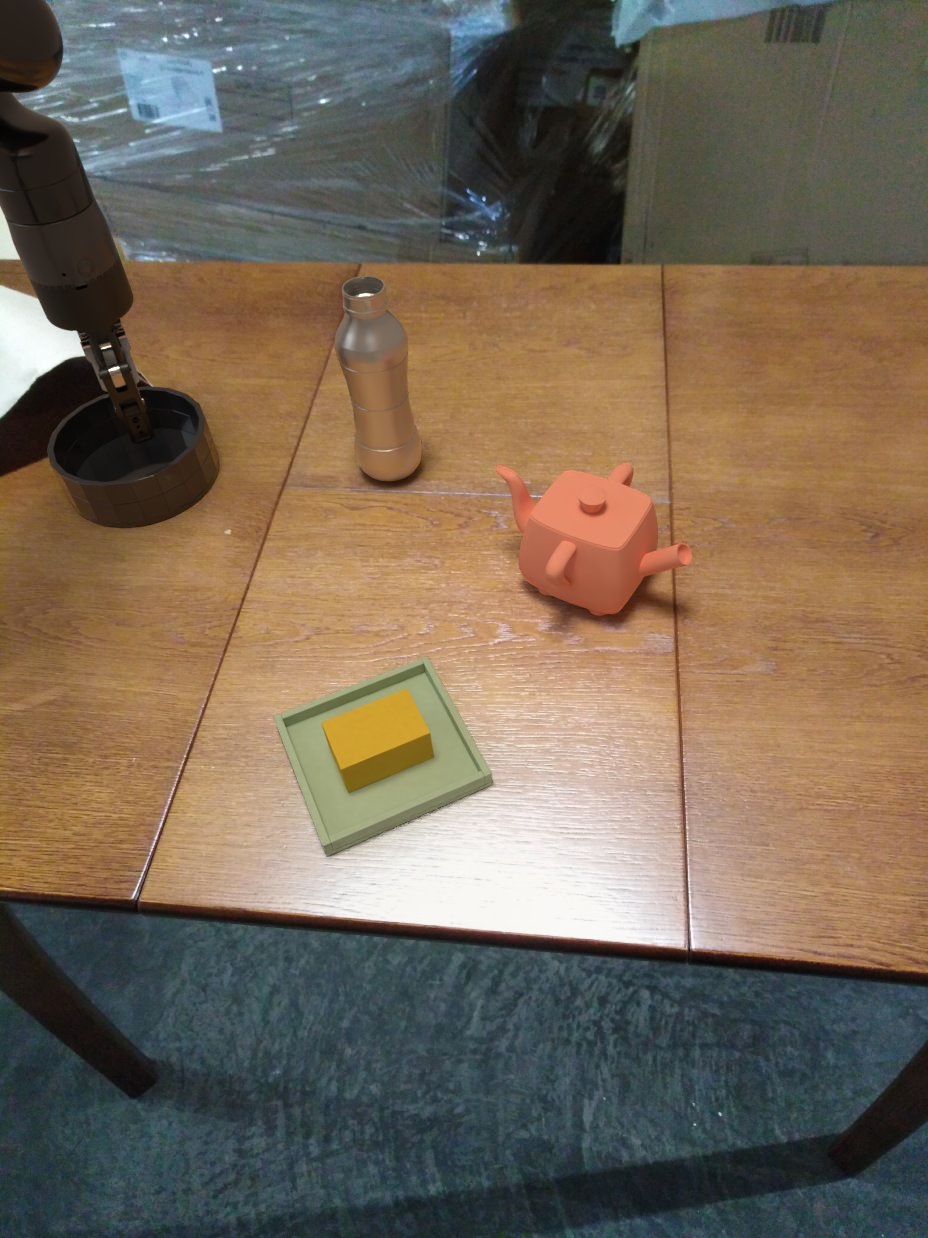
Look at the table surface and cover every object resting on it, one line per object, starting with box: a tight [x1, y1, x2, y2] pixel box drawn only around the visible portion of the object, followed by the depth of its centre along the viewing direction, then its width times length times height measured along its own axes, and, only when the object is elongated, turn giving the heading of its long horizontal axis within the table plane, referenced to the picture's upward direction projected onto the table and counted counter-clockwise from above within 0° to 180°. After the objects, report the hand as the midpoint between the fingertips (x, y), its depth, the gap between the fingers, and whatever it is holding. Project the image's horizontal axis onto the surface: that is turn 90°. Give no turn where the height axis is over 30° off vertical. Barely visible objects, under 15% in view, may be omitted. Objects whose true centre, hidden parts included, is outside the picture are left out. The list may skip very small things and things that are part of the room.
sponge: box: [321, 688, 434, 793], centre depth 67 cm, size 7×4×4 cm, turn 115°
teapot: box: [494, 462, 693, 617], centre depth 76 cm, size 14×12×10 cm
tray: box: [273, 655, 493, 857], centre depth 69 cm, size 13×12×2 cm
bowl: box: [46, 385, 220, 528], centre depth 90 cm, size 15×15×6 cm
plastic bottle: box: [333, 275, 423, 482], centre depth 83 cm, size 6×7×20 cm
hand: (138, 423), depth 87 cm, fingers open, 5 cm apart
